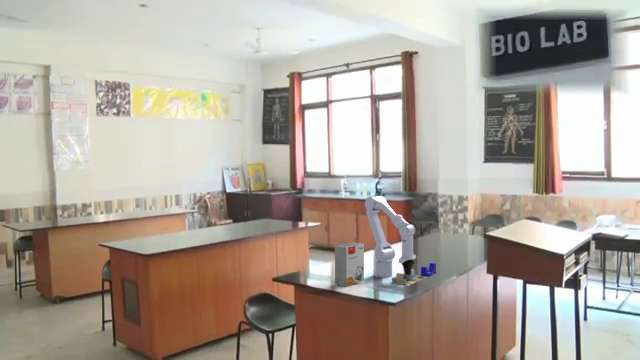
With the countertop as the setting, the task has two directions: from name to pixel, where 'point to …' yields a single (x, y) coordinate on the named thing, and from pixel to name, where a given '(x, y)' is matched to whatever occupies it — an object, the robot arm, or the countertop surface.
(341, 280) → the hard drive box
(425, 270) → the cable clip
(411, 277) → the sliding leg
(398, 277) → the board
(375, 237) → the robot arm
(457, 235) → the countertop surface
